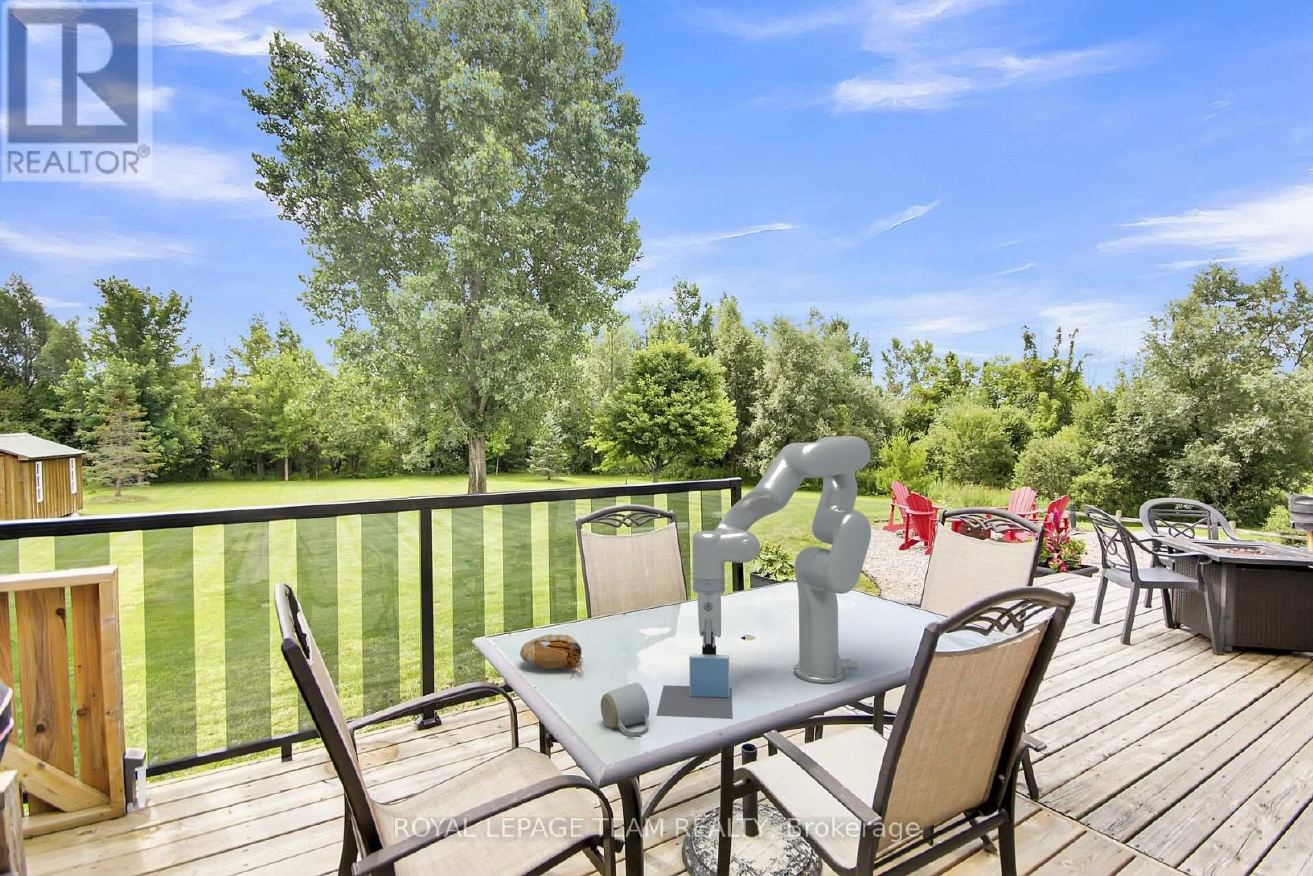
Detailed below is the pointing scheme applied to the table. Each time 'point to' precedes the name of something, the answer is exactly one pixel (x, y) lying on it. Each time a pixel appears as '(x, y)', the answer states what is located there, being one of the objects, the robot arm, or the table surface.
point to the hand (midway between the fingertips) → (709, 663)
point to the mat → (693, 704)
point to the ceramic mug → (626, 708)
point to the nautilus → (553, 652)
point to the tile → (709, 675)
